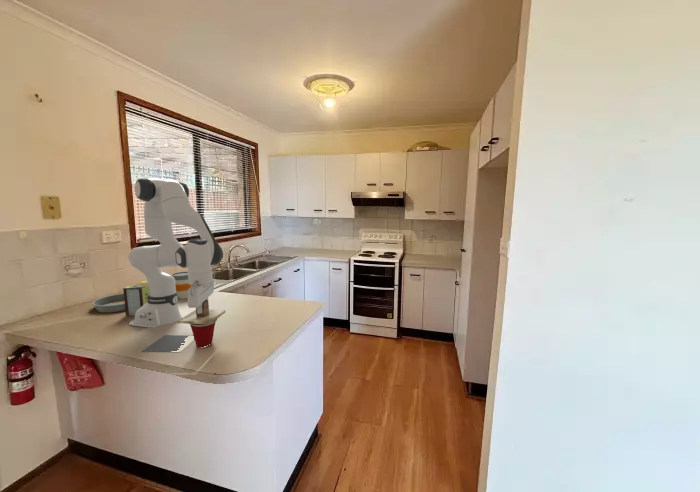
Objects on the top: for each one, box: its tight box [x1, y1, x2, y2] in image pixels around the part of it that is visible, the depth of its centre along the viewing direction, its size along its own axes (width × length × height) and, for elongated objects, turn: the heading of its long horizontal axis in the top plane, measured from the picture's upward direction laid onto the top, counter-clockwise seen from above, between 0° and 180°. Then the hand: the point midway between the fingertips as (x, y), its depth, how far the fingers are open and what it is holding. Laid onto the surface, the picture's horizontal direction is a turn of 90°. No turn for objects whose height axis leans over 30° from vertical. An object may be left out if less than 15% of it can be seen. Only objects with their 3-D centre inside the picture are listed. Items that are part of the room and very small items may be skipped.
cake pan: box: [91, 292, 126, 313], centre depth 169 cm, size 25×25×4 cm
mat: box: [140, 334, 189, 353], centre depth 123 cm, size 16×15×1 cm
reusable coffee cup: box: [171, 271, 191, 299], centre depth 186 cm, size 13×13×15 cm
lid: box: [177, 299, 226, 325], centre depth 120 cm, size 13×13×7 cm
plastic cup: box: [189, 318, 218, 348], centre depth 121 cm, size 11×11×12 cm
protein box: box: [122, 280, 150, 317], centre depth 160 cm, size 10×15×16 cm
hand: (202, 310), depth 120 cm, fingers closed on lid, 4 cm apart
